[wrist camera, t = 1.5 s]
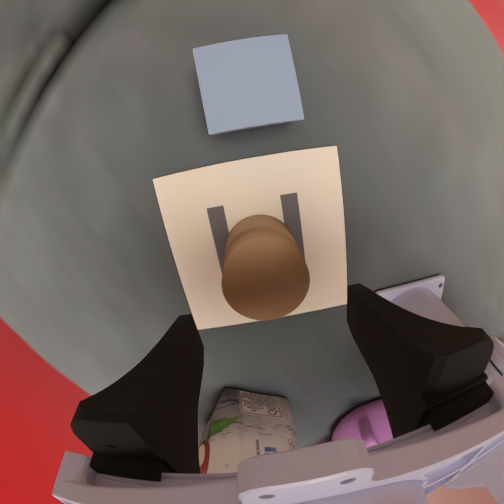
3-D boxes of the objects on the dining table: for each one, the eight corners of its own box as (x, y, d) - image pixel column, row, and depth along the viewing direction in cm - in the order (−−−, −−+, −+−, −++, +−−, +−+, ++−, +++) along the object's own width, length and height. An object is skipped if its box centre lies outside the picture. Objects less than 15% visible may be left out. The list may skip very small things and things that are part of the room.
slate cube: (289, 122, 18) (304, 119, 14) (217, 134, 19) (208, 134, 14) (276, 56, 16) (287, 34, 12) (204, 68, 17) (192, 48, 12)
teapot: (311, 444, 34) (321, 494, 26) (359, 384, 29) (383, 445, 21) (377, 440, 36) (391, 483, 27) (427, 384, 30) (454, 431, 22)
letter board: (345, 301, 24) (347, 303, 24) (198, 326, 24) (197, 329, 24) (334, 145, 19) (336, 146, 19) (154, 178, 19) (152, 179, 19)
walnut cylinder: (297, 271, 22) (312, 312, 17) (233, 282, 22) (231, 326, 17) (289, 209, 20) (305, 235, 15) (219, 221, 20) (212, 252, 15)
